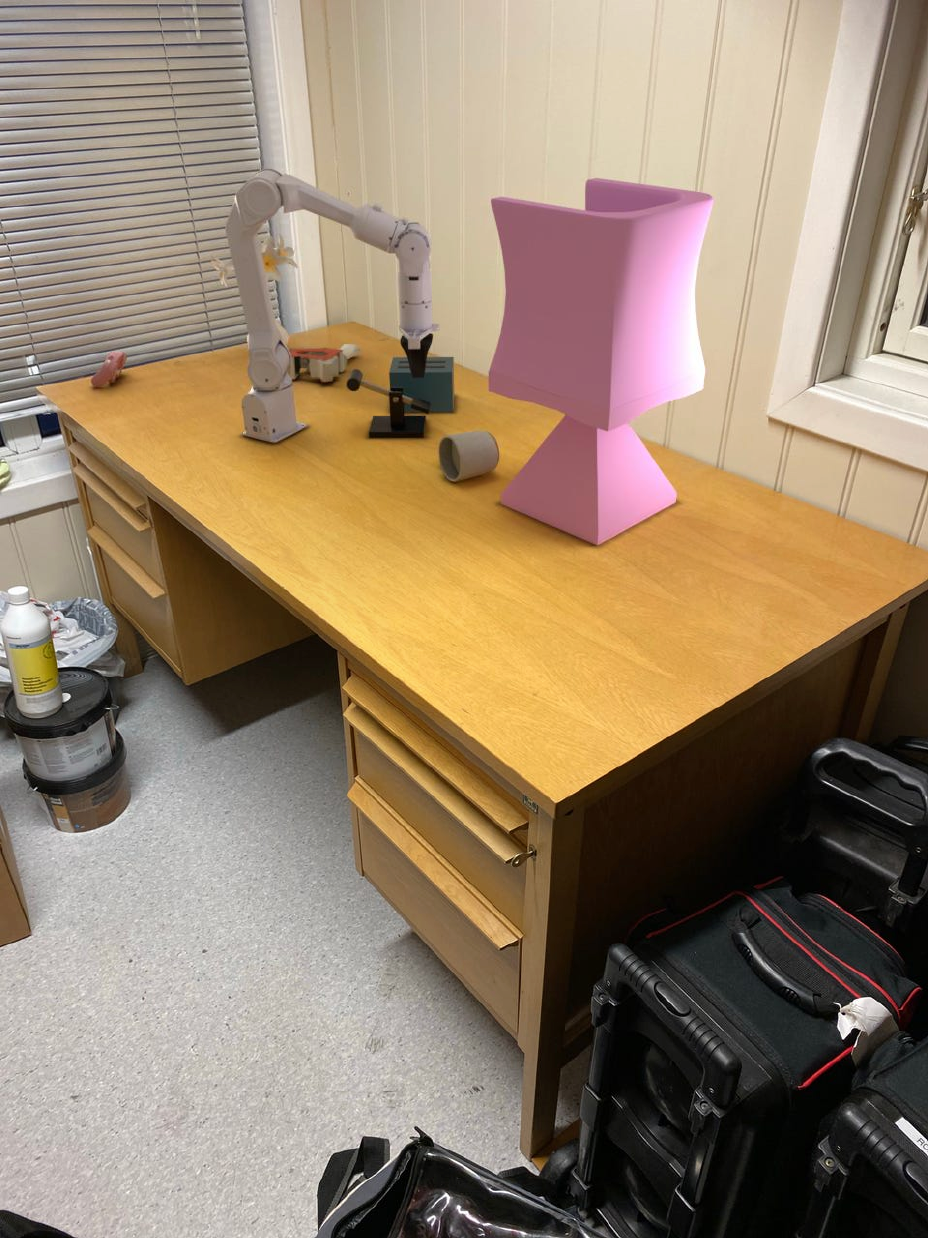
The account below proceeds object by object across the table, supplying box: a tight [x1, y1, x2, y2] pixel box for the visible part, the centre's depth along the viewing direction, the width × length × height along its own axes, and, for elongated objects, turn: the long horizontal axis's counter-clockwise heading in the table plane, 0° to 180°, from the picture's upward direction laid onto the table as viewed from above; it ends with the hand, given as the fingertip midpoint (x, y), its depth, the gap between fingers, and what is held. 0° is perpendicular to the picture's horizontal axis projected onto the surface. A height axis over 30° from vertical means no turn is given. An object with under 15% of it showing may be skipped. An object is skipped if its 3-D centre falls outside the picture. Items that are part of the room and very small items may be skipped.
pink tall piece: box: [488, 177, 715, 546], centre depth 138 cm, size 22×22×45 cm
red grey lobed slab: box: [287, 343, 361, 384], centre depth 203 cm, size 18×5×20 cm
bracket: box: [368, 386, 427, 439], centre depth 175 cm, size 10×8×8 cm
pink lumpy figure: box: [90, 349, 128, 388], centre depth 200 cm, size 10×5×7 cm, turn 179°
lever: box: [345, 368, 431, 415], centre depth 173 cm, size 16×5×2 cm, turn 89°
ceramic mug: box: [437, 430, 500, 483], centre depth 159 cm, size 11×8×8 cm
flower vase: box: [209, 234, 299, 347], centre depth 207 cm, size 13×18×25 cm
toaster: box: [388, 356, 455, 414], centre depth 185 cm, size 12×9×8 cm
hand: (418, 376), depth 172 cm, fingers closed
